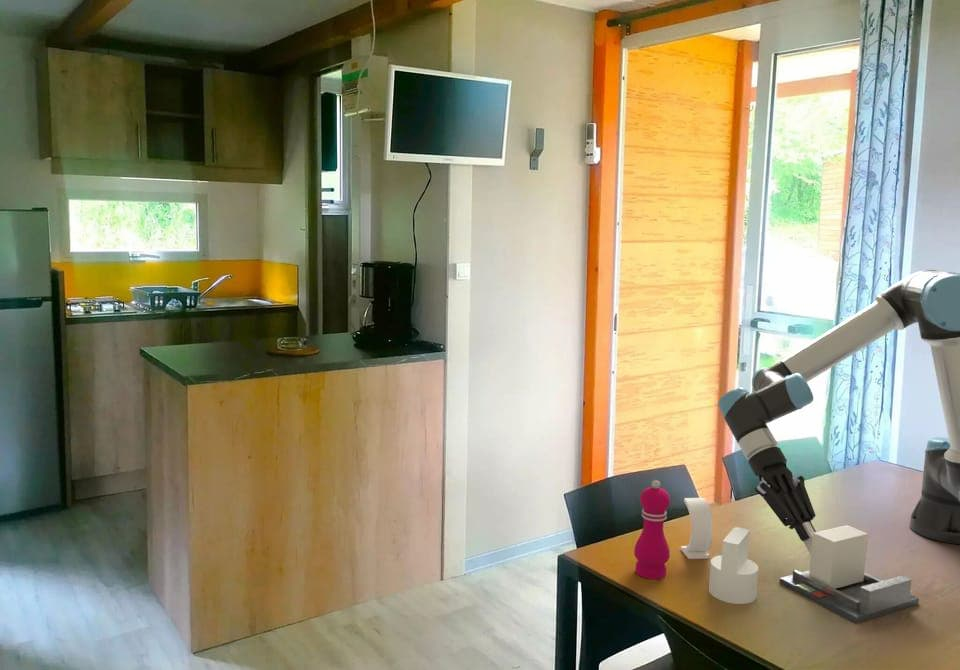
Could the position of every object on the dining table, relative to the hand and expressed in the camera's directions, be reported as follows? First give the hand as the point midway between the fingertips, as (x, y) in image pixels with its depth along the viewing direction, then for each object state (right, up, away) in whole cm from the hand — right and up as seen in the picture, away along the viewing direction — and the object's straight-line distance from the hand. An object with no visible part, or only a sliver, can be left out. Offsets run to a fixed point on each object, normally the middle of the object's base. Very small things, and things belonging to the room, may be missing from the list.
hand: (818, 553), depth 166 cm
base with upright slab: (-20, -6, -6) cm, 22 cm away
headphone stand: (-22, -4, +11) cm, 25 cm away
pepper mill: (-34, -5, +2) cm, 35 cm away
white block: (+2, -4, -3) cm, 6 cm away
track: (+3, -6, -6) cm, 9 cm away
